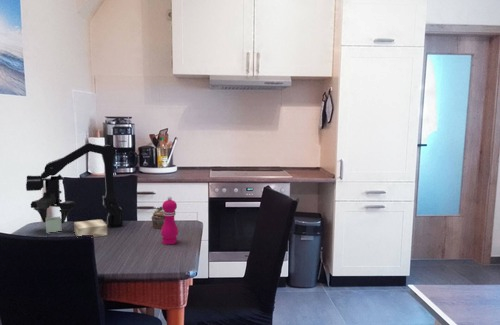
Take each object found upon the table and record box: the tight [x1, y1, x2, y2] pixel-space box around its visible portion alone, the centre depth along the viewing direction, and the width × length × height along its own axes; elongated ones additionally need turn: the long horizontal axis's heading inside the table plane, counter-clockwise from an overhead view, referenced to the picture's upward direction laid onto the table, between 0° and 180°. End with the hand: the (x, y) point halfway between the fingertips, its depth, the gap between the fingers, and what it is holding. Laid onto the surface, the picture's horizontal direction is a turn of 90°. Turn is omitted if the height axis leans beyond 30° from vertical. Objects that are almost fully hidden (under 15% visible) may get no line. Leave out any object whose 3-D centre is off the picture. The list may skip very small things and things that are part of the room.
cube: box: [45, 216, 63, 234], centre depth 174 cm, size 6×6×6 cm
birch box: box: [73, 219, 108, 238], centre depth 171 cm, size 12×12×5 cm
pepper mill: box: [160, 196, 179, 245], centre depth 161 cm, size 7×7×20 cm
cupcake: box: [151, 206, 165, 230], centre depth 185 cm, size 10×10×10 cm
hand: (53, 222), depth 174 cm, fingers open, 9 cm apart
